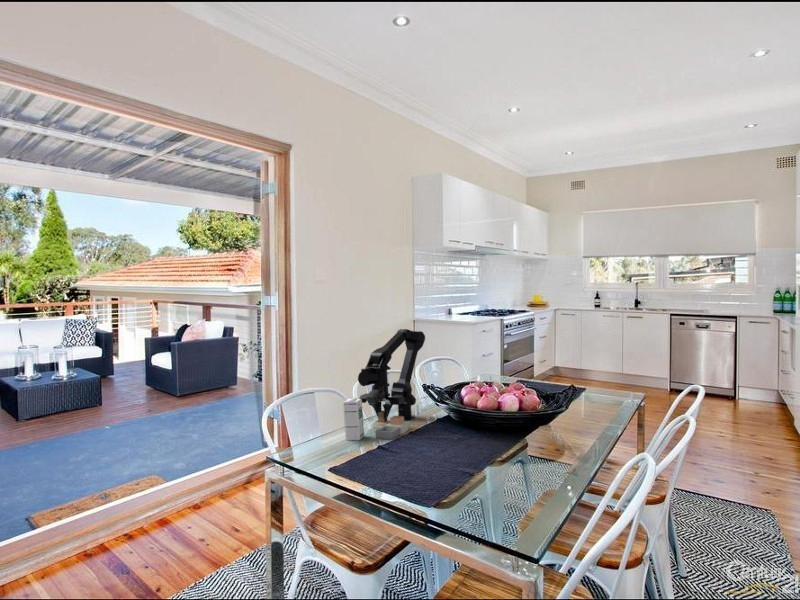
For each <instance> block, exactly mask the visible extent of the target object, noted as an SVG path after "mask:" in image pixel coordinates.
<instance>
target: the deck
mask: <svg viewBox="0 0 800 600" xmlns="http://www.w3.org/2000/svg"><path fill="white" fill-rule="evenodd" d="M385 426H386V431H389V432H391V431H393V430H395V429H396V428H398V427H399V428H400V432H401V435H403V434H405V433H406V432H405V431H407V430H408V429H409V430H410V422H409V421H408V422H407V421H404V423H403V424H401V425H390V423H389V424H387V425H385ZM409 430H408V431H409ZM408 431H407V432H408ZM404 432H405V433H404ZM402 433H403V434H402Z"/></svg>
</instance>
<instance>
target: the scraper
mask: <svg viewBox="0 0 800 600" xmlns="http://www.w3.org/2000/svg"><path fill="white" fill-rule="evenodd" d="M389 423H390V419H387V420H385V418H384V410H381V411H380V412H378V417H377V420H375V421H373V422H372V428H375V429H380V428H382V427H384V426H385V425H387V424H389Z"/></svg>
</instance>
